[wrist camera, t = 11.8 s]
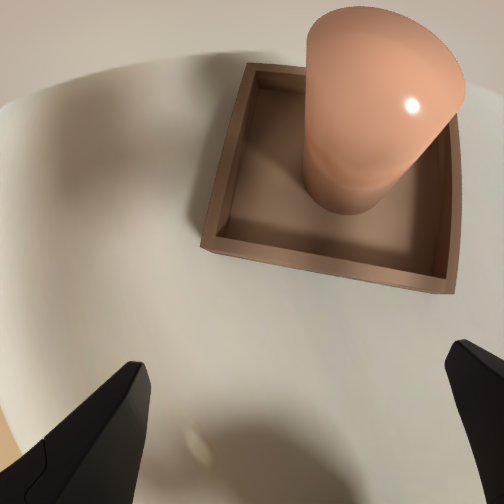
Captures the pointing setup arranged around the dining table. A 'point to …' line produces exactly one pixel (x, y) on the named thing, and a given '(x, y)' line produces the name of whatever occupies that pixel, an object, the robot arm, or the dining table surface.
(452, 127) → the box
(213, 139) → the dining table surface
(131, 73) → the dining table surface
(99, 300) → the dining table surface
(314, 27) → the terracotta cylinder
